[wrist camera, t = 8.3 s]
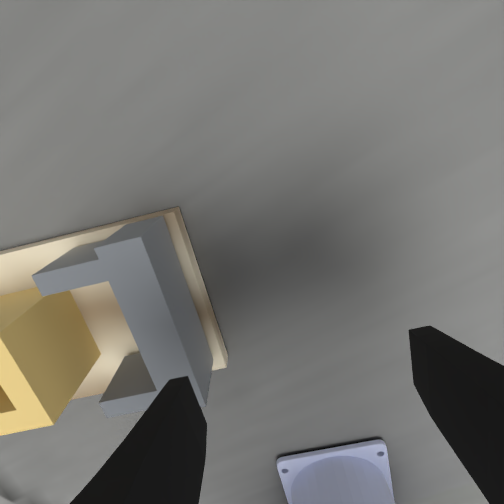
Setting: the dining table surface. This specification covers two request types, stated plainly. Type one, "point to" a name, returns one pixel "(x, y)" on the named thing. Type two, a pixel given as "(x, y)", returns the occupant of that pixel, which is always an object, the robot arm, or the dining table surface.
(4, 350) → the block
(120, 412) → the housing
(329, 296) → the dining table surface
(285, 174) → the dining table surface
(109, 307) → the base plate
